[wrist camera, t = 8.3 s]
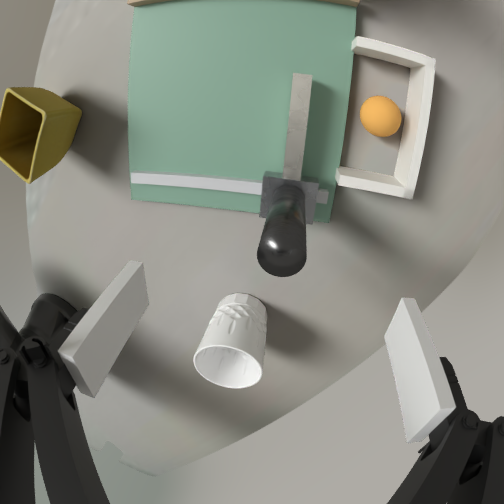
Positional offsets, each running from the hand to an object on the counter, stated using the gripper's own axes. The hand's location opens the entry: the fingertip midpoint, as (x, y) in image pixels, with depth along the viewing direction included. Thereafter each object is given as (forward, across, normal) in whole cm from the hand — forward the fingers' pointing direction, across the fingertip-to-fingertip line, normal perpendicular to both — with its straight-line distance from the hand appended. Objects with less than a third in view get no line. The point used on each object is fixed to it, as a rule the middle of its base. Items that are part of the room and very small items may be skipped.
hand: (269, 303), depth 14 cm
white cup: (+19, -3, -18) cm, 26 cm away
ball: (+17, +8, +9) cm, 21 cm away
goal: (+19, +9, +9) cm, 23 cm away
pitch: (+19, -6, +9) cm, 22 cm away
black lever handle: (+17, +1, +5) cm, 18 cm away
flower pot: (+20, -28, +7) cm, 35 cm away
